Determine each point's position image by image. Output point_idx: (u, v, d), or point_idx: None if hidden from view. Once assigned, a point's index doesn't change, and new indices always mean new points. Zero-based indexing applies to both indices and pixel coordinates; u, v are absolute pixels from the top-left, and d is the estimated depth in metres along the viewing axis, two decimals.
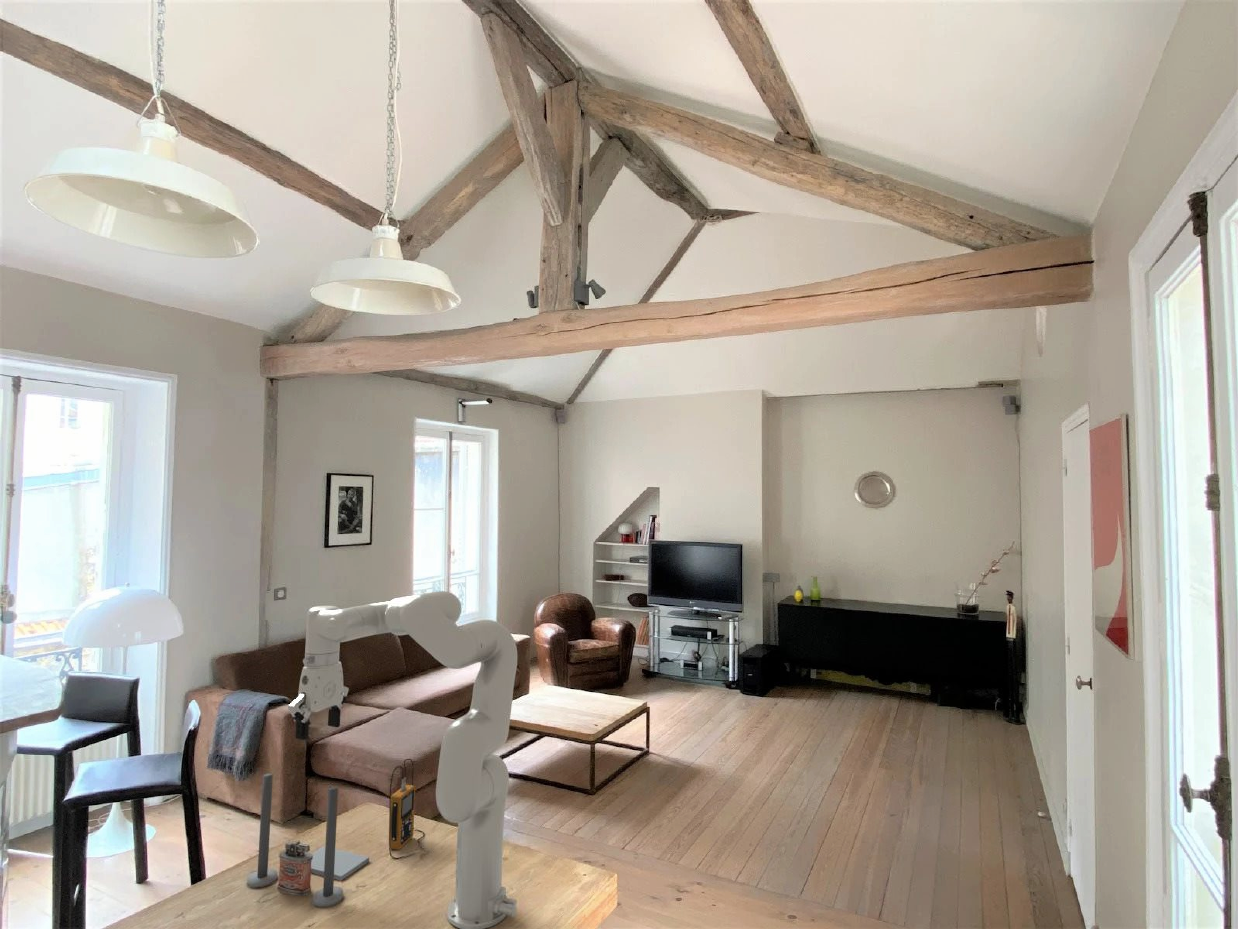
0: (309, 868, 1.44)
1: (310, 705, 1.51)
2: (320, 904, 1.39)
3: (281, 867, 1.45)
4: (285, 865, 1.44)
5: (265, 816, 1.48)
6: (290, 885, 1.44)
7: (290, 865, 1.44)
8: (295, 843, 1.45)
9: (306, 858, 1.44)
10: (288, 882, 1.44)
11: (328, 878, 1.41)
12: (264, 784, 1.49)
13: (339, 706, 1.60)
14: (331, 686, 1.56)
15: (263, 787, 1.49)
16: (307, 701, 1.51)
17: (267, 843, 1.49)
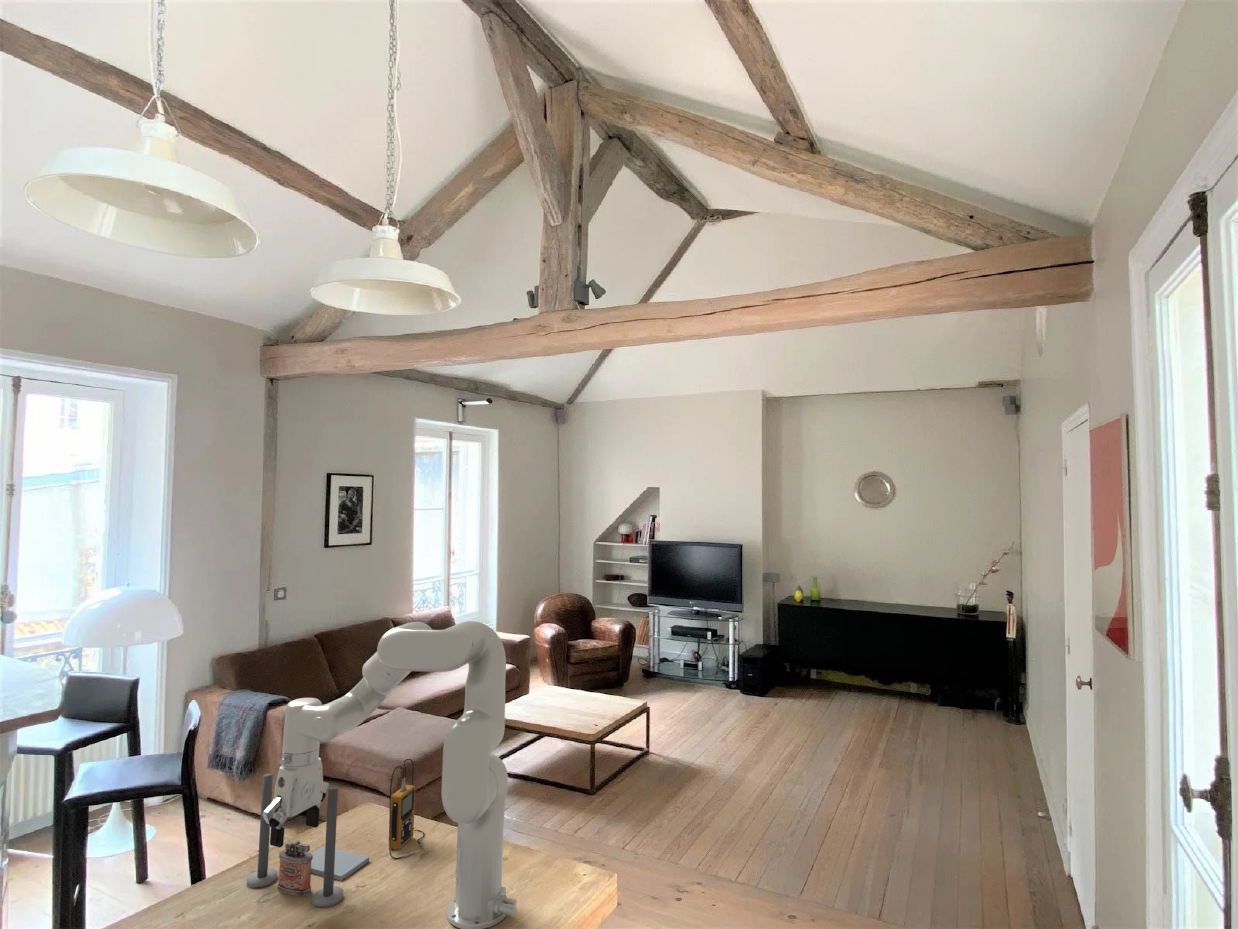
0: (309, 868, 1.44)
1: (286, 810, 1.41)
2: (320, 904, 1.39)
3: (281, 867, 1.45)
4: (285, 865, 1.44)
5: None
6: (290, 885, 1.44)
7: (290, 865, 1.44)
8: (295, 843, 1.45)
9: (306, 858, 1.44)
10: (288, 882, 1.44)
11: (328, 878, 1.41)
12: (264, 784, 1.49)
13: (318, 805, 1.50)
14: (309, 786, 1.46)
15: (263, 787, 1.49)
16: (283, 806, 1.41)
17: (267, 843, 1.49)
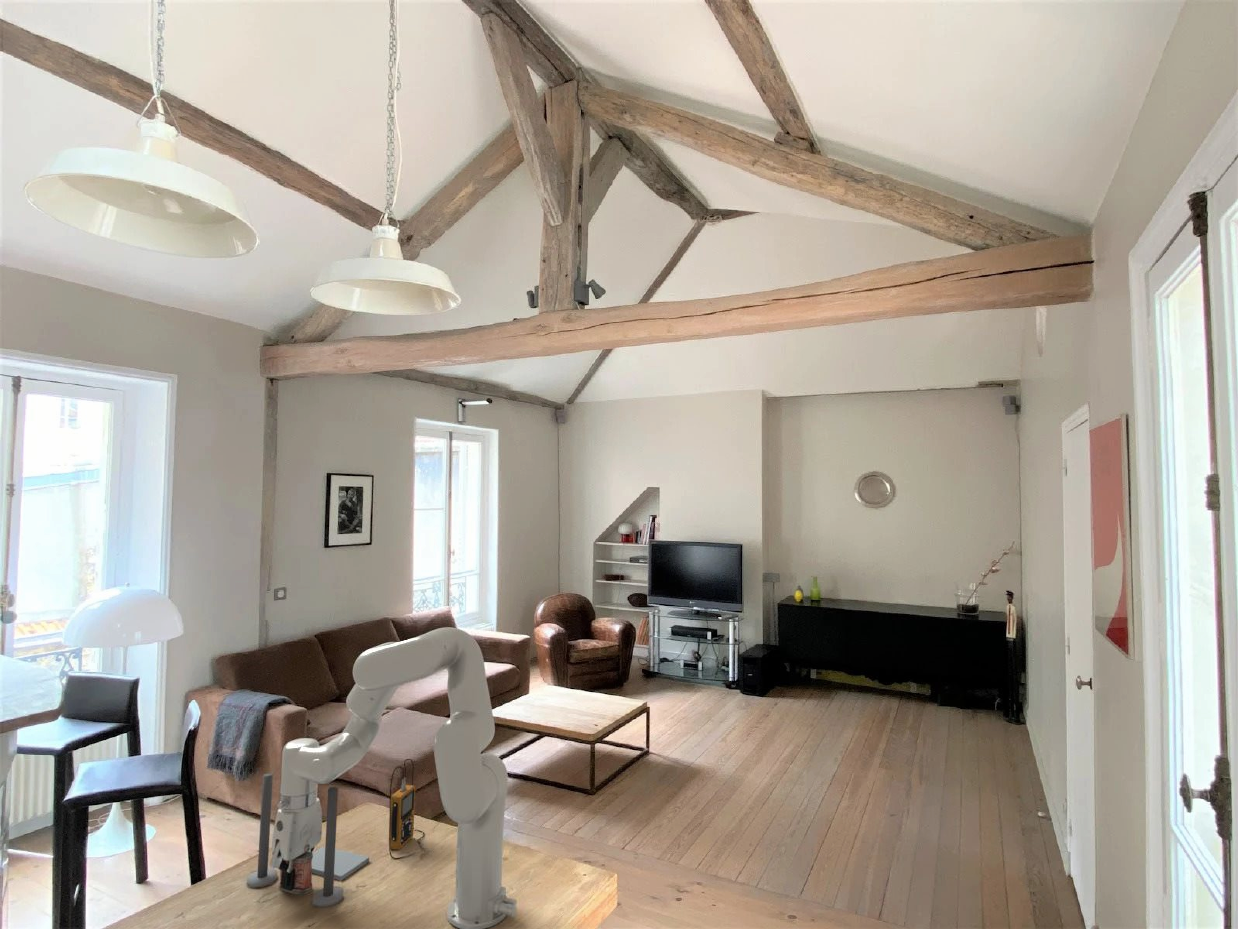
0: (310, 867, 1.44)
1: (285, 854, 1.40)
2: (320, 904, 1.39)
3: None
4: None
5: (265, 816, 1.48)
6: None
7: None
8: None
9: (306, 858, 1.44)
10: None
11: (328, 878, 1.41)
12: (264, 784, 1.49)
13: None
14: (308, 828, 1.45)
15: (263, 787, 1.49)
16: None
17: (267, 843, 1.49)
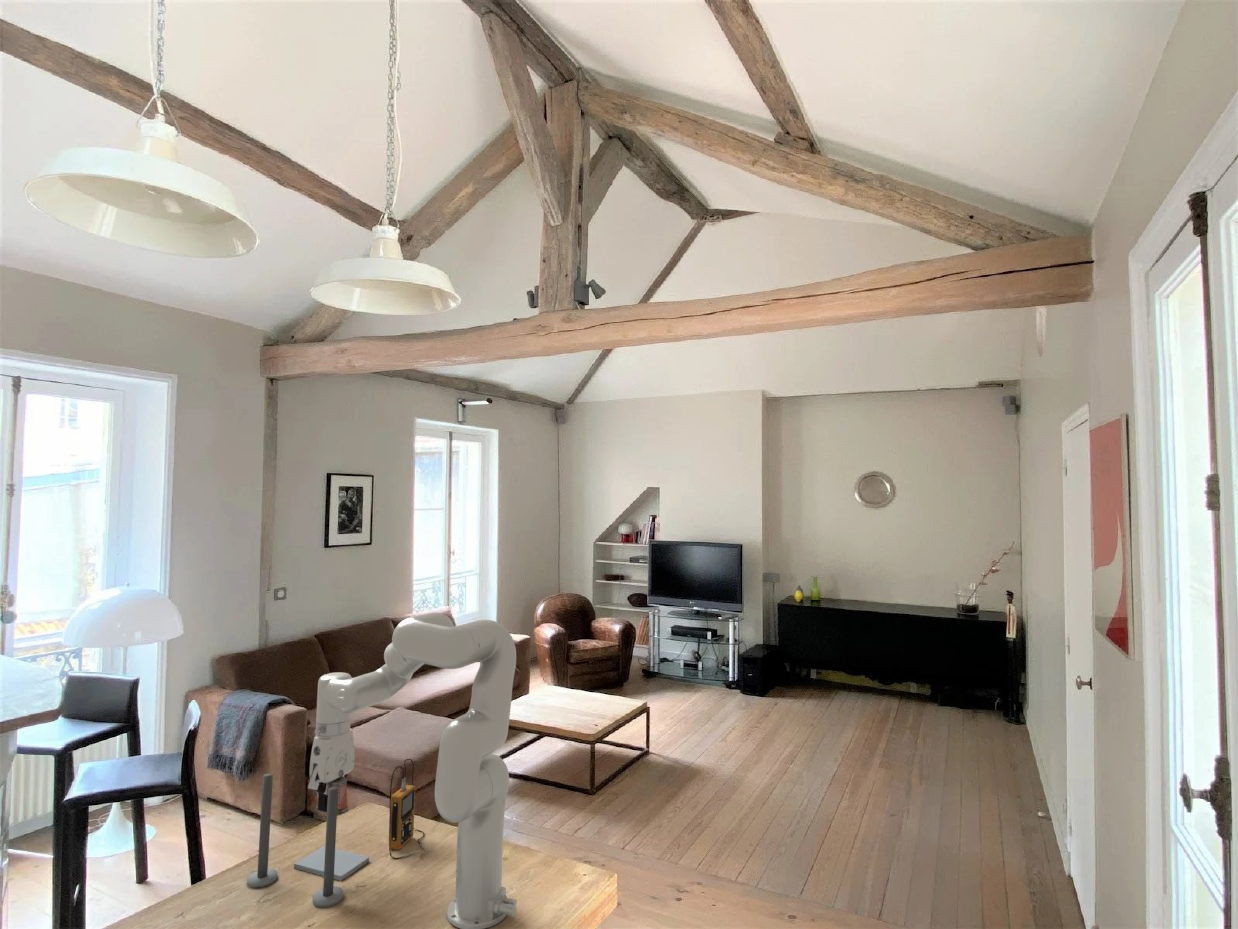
0: (345, 790, 1.54)
1: (322, 776, 1.50)
2: (320, 904, 1.39)
3: None
4: None
5: (265, 816, 1.48)
6: None
7: None
8: None
9: (341, 782, 1.53)
10: None
11: (328, 878, 1.41)
12: (264, 784, 1.49)
13: None
14: (343, 755, 1.55)
15: (263, 787, 1.49)
16: None
17: (267, 843, 1.49)
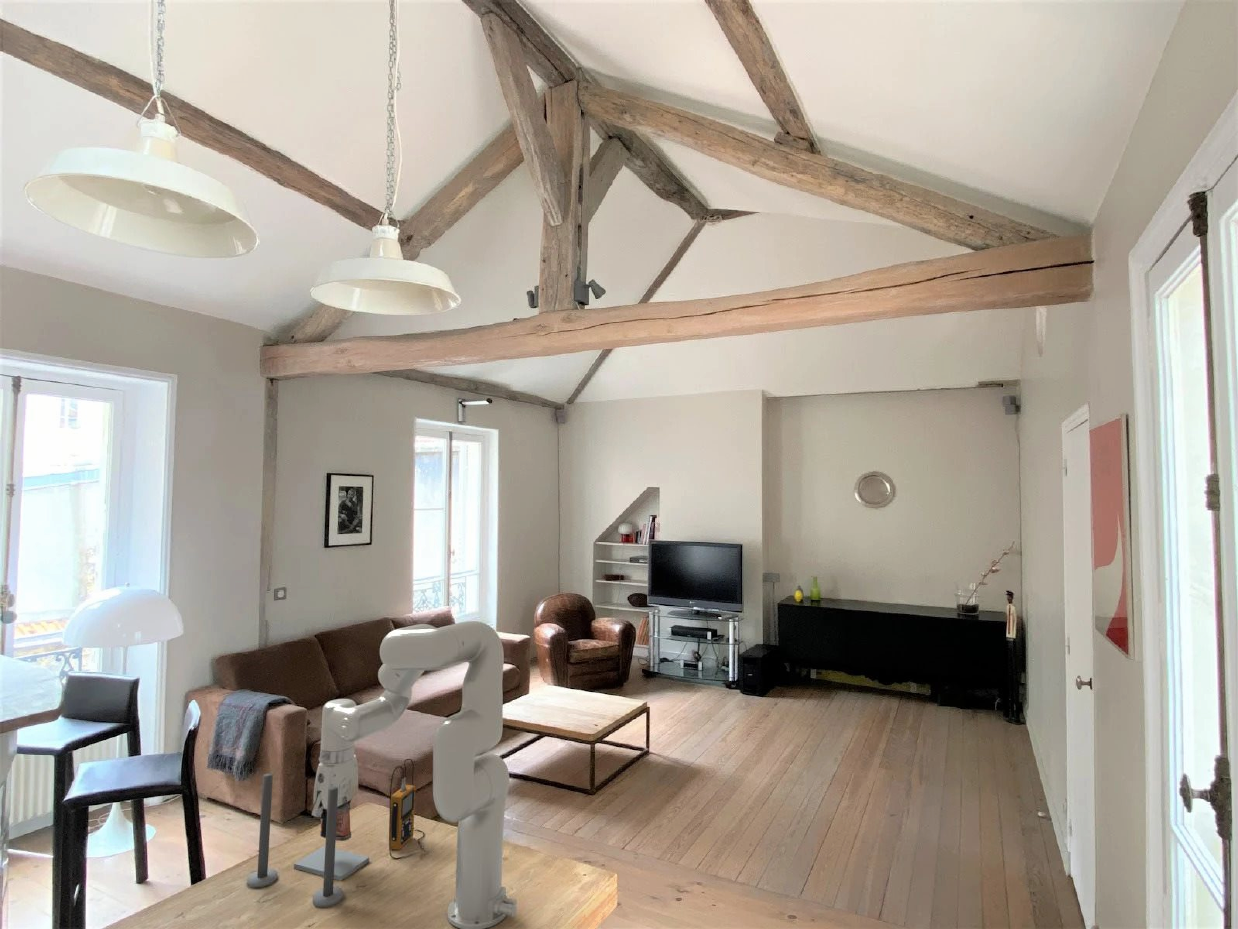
0: (348, 817, 1.55)
1: (326, 804, 1.51)
2: (320, 904, 1.39)
3: None
4: None
5: (265, 816, 1.48)
6: None
7: None
8: None
9: (344, 808, 1.55)
10: None
11: (328, 878, 1.41)
12: (264, 784, 1.49)
13: None
14: (346, 782, 1.56)
15: (263, 787, 1.49)
16: None
17: (267, 843, 1.49)
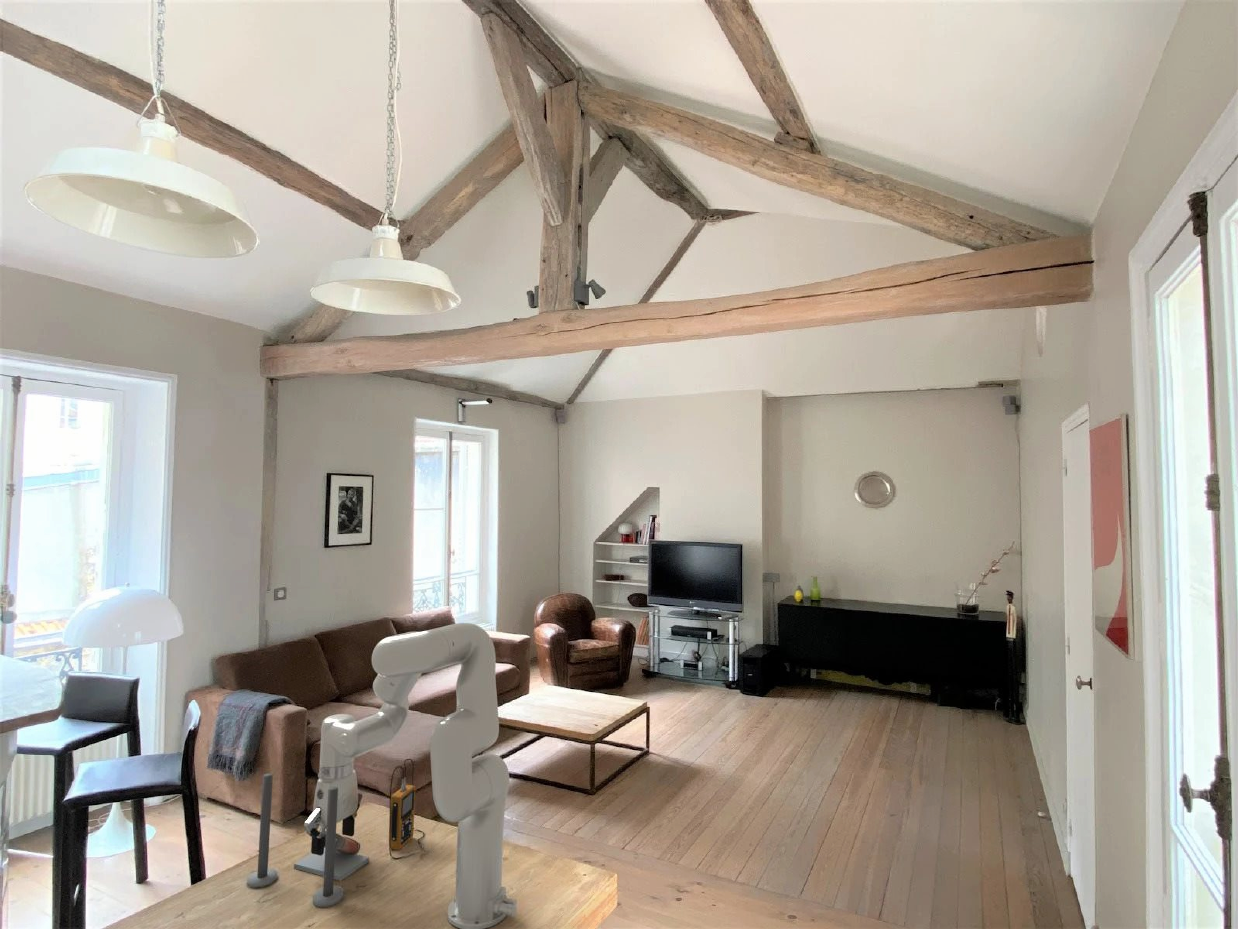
0: (347, 845, 1.54)
1: (325, 820, 1.51)
2: (320, 904, 1.39)
3: None
4: None
5: (265, 816, 1.48)
6: (340, 851, 1.57)
7: None
8: None
9: (339, 846, 1.52)
10: None
11: (328, 878, 1.41)
12: (264, 784, 1.49)
13: (353, 815, 1.60)
14: (346, 797, 1.56)
15: (263, 787, 1.49)
16: (322, 816, 1.51)
17: (267, 843, 1.49)
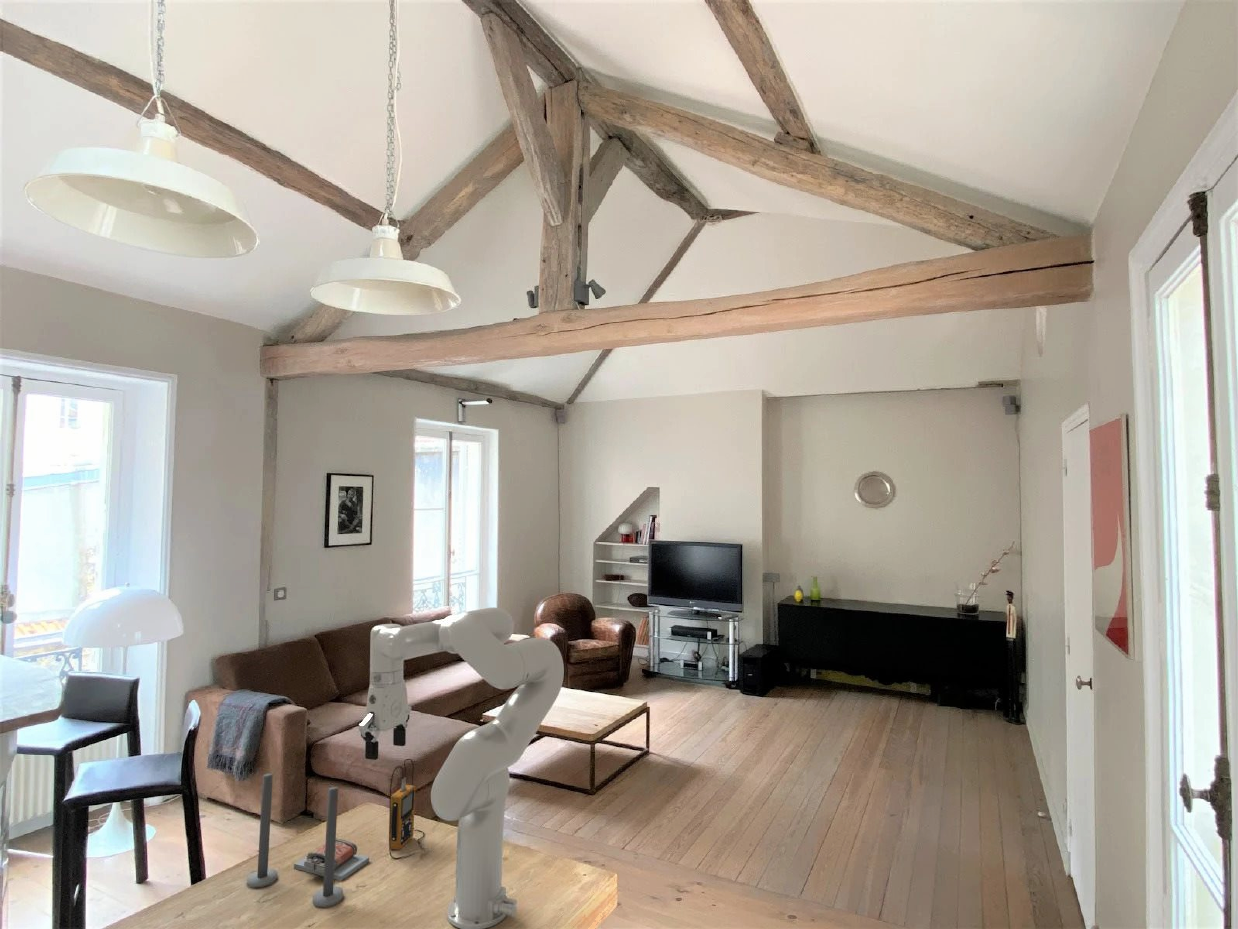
0: (341, 861, 1.52)
1: (379, 724, 1.50)
2: (320, 904, 1.39)
3: None
4: None
5: (265, 816, 1.48)
6: None
7: None
8: (312, 869, 1.49)
9: None
10: None
11: (328, 878, 1.41)
12: (264, 784, 1.49)
13: (404, 725, 1.59)
14: (397, 704, 1.55)
15: (263, 787, 1.49)
16: (376, 720, 1.50)
17: (267, 843, 1.49)
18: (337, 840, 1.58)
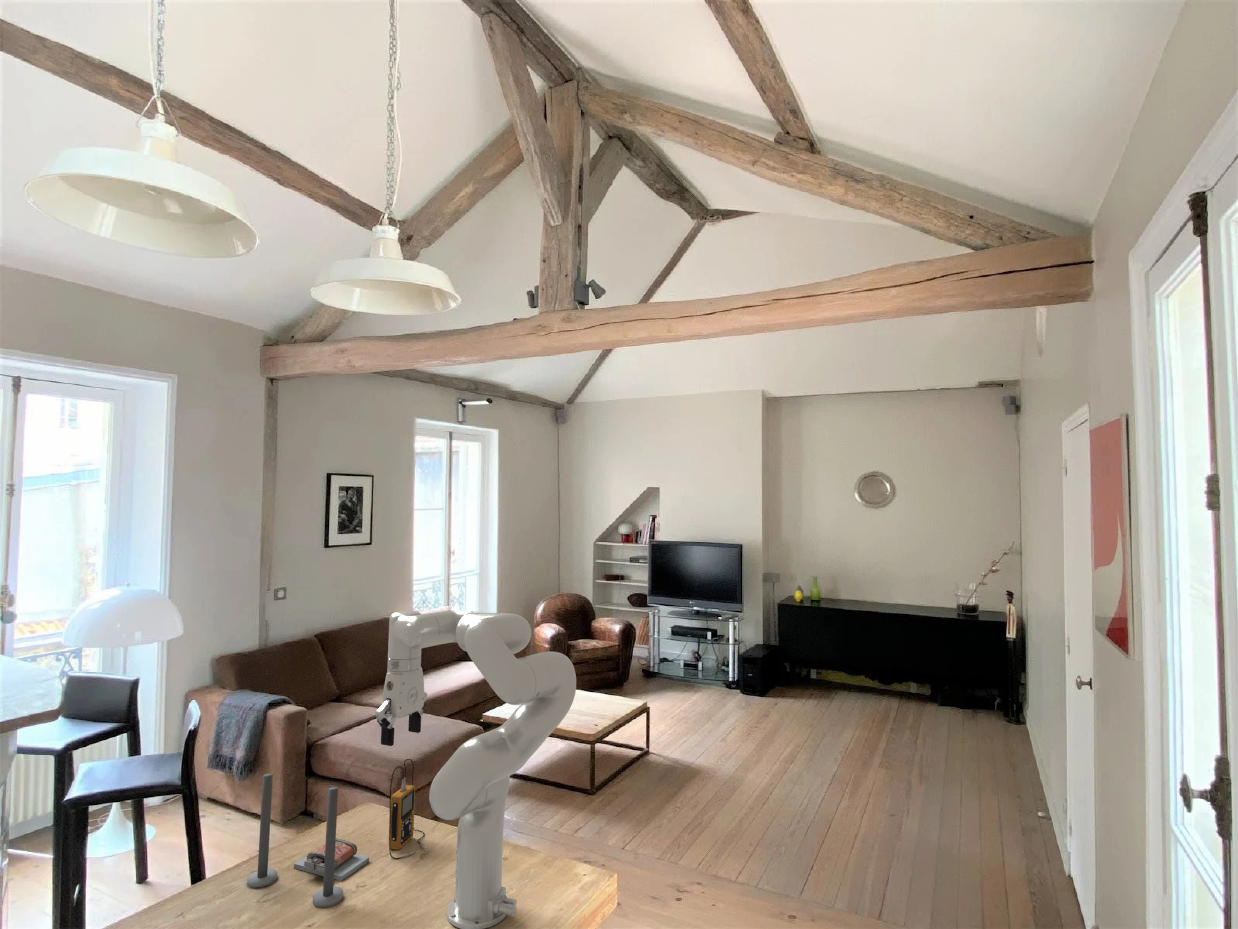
0: (341, 860, 1.52)
1: (396, 711, 1.50)
2: (320, 904, 1.39)
3: None
4: None
5: (265, 816, 1.48)
6: None
7: None
8: (312, 869, 1.49)
9: None
10: None
11: (328, 878, 1.41)
12: (264, 784, 1.49)
13: (420, 711, 1.59)
14: (414, 692, 1.55)
15: (263, 787, 1.49)
16: (392, 707, 1.50)
17: (267, 843, 1.49)
18: (337, 840, 1.58)
